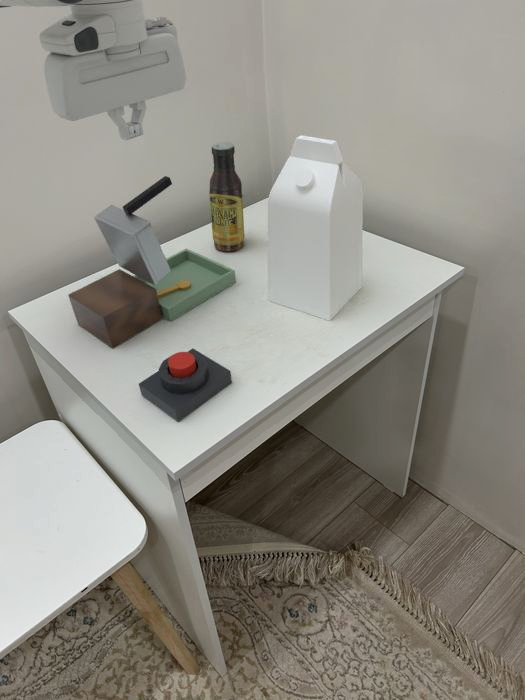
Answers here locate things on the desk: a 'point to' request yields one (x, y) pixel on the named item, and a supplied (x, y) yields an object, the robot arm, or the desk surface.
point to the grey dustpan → (135, 236)
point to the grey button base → (185, 386)
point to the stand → (116, 307)
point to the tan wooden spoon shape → (175, 288)
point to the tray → (203, 279)
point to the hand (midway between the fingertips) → (132, 137)
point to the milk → (315, 230)
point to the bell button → (182, 364)
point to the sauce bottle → (226, 200)
